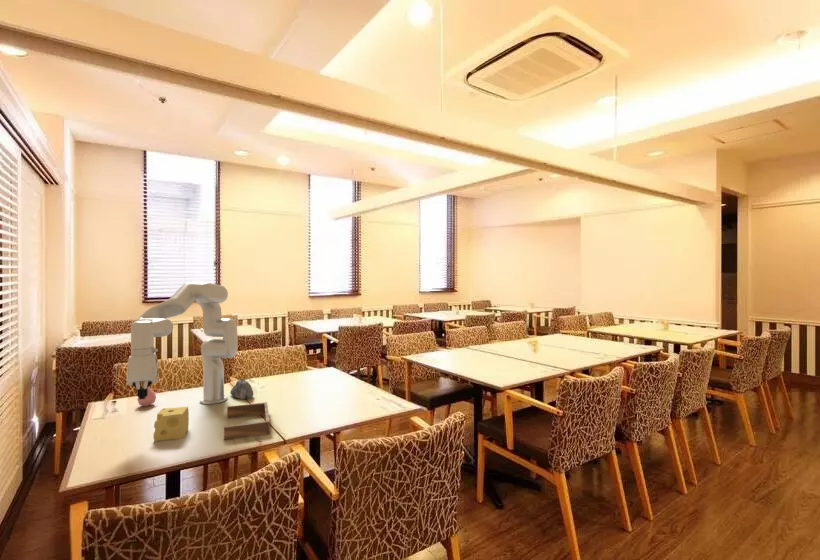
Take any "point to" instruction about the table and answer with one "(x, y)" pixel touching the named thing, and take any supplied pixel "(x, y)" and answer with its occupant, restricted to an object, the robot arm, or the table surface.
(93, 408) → the table surface
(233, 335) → the robot arm
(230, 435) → the wooden u-shaped bracket
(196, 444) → the table surface
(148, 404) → the pink rounded piece
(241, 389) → the mineral rock
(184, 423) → the cheese
